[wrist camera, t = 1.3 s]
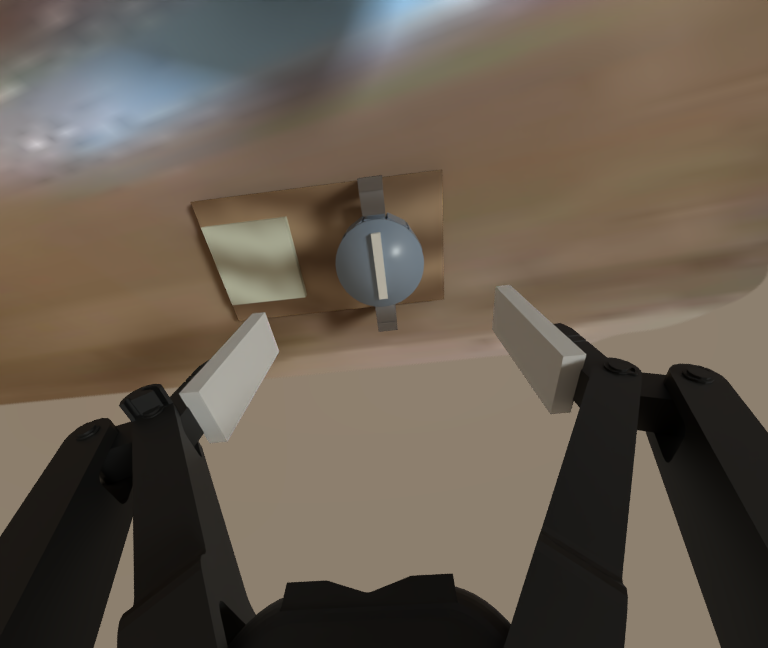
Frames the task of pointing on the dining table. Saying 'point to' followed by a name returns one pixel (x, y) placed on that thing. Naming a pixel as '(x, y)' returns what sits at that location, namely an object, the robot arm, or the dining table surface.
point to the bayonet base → (316, 242)
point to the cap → (379, 260)
